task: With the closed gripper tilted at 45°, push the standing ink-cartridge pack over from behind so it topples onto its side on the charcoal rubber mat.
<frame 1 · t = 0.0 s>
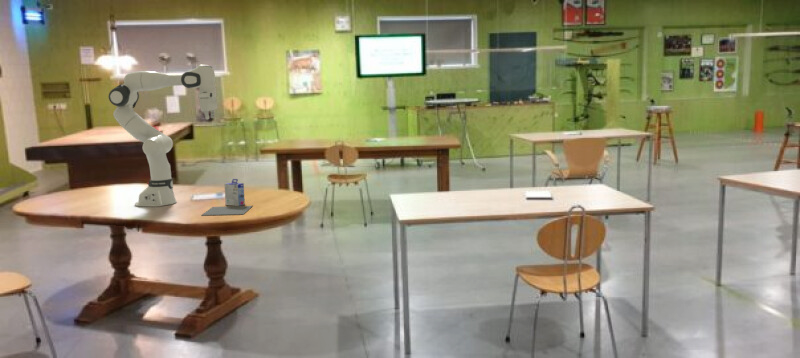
hand: (210, 118, 360), 48 cm above the table, tool pointing down, fingers open, 8 cm apart
ink cartridge box: (235, 205, 360), on the table
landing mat: (227, 211, 344), on the table
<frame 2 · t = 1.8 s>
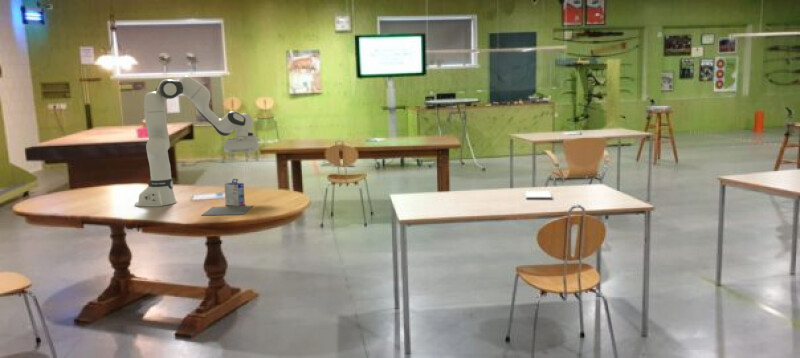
hand: (239, 156, 371), 25 cm above the table, tool tilted 45°, fingers open, 8 cm apart
nothing on the table moved.
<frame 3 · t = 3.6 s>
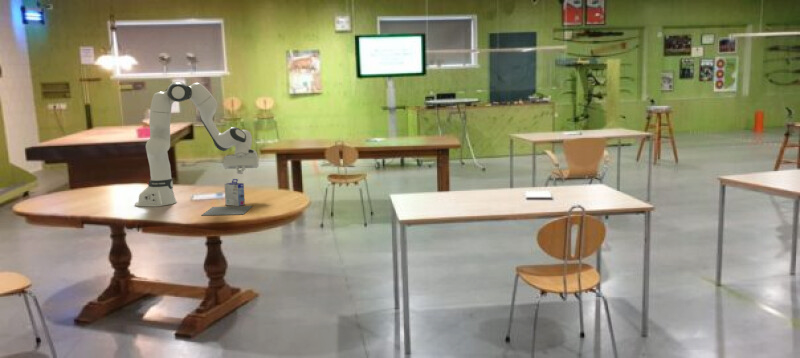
hand: (239, 173, 370), 16 cm above the table, tool tilted 45°, fingers closed
nothing on the table moved.
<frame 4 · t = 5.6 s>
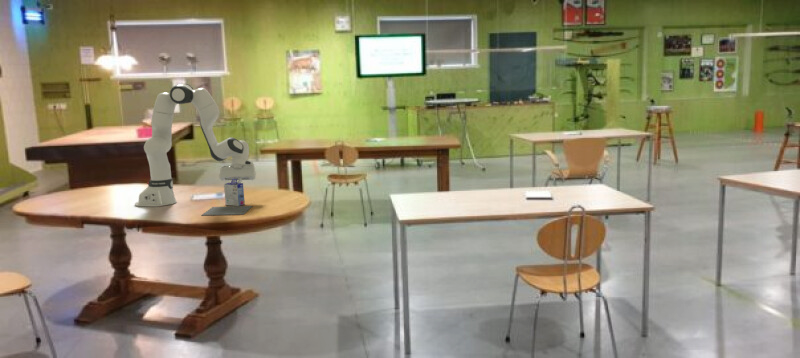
hand: (235, 185, 362), 10 cm above the table, tool tilted 45°, fingers closed
ink cartridge box: (235, 205, 360), on the table, touching gripper
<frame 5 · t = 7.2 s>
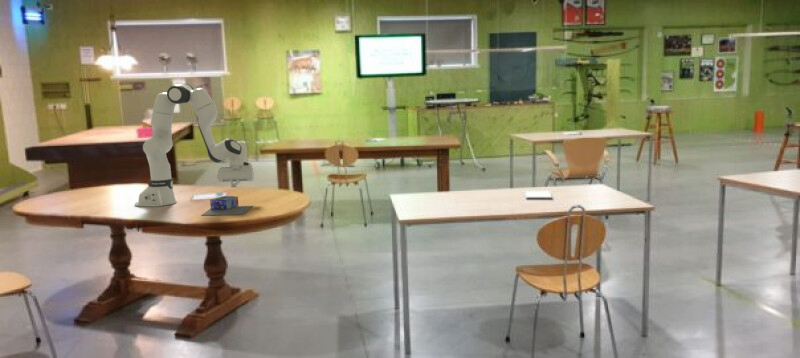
hand: (233, 186, 357), 10 cm above the table, tool tilted 45°, fingers closed
ink cartridge box: (232, 200, 357), point 3 cm above the table, touching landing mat
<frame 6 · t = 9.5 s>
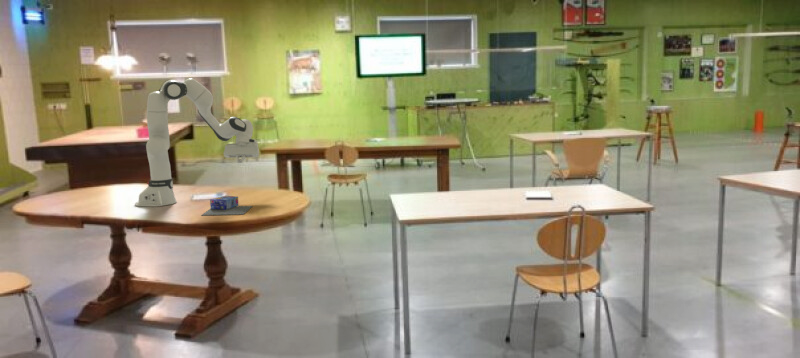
hand: (239, 162, 371), 22 cm above the table, tool tilted 45°, fingers closed
nothing on the table moved.
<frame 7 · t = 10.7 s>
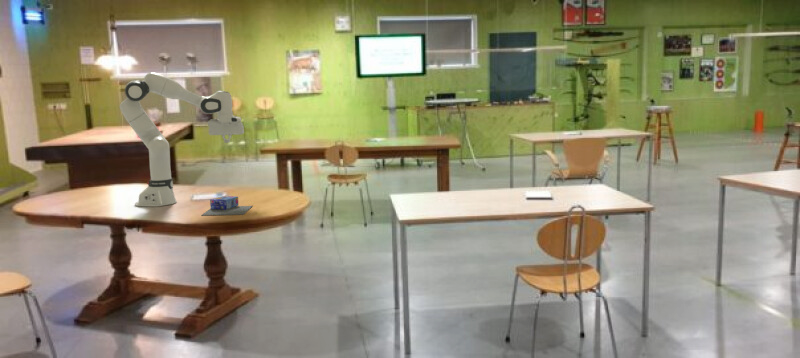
hand: (227, 142, 375), 33 cm above the table, tool pointing down, fingers closed
nothing on the table moved.
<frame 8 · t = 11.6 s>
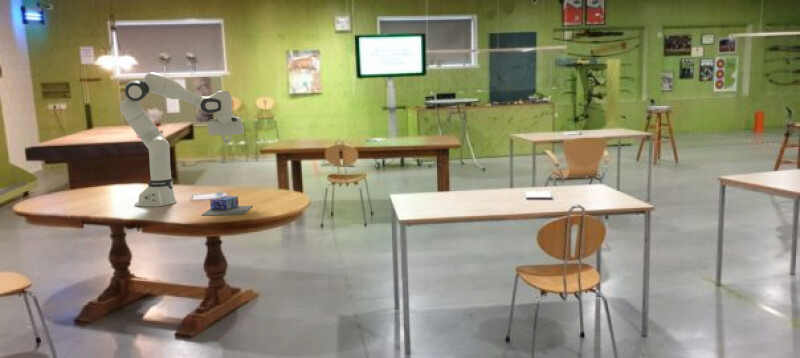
hand: (227, 142, 375), 33 cm above the table, tool pointing down, fingers closed
nothing on the table moved.
at the end: ink cartridge box tilted 91°; ink cartridge box touching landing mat; ink cartridge box inside the target area (4.7 cm from its centre), point 3.1 cm above the table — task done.
